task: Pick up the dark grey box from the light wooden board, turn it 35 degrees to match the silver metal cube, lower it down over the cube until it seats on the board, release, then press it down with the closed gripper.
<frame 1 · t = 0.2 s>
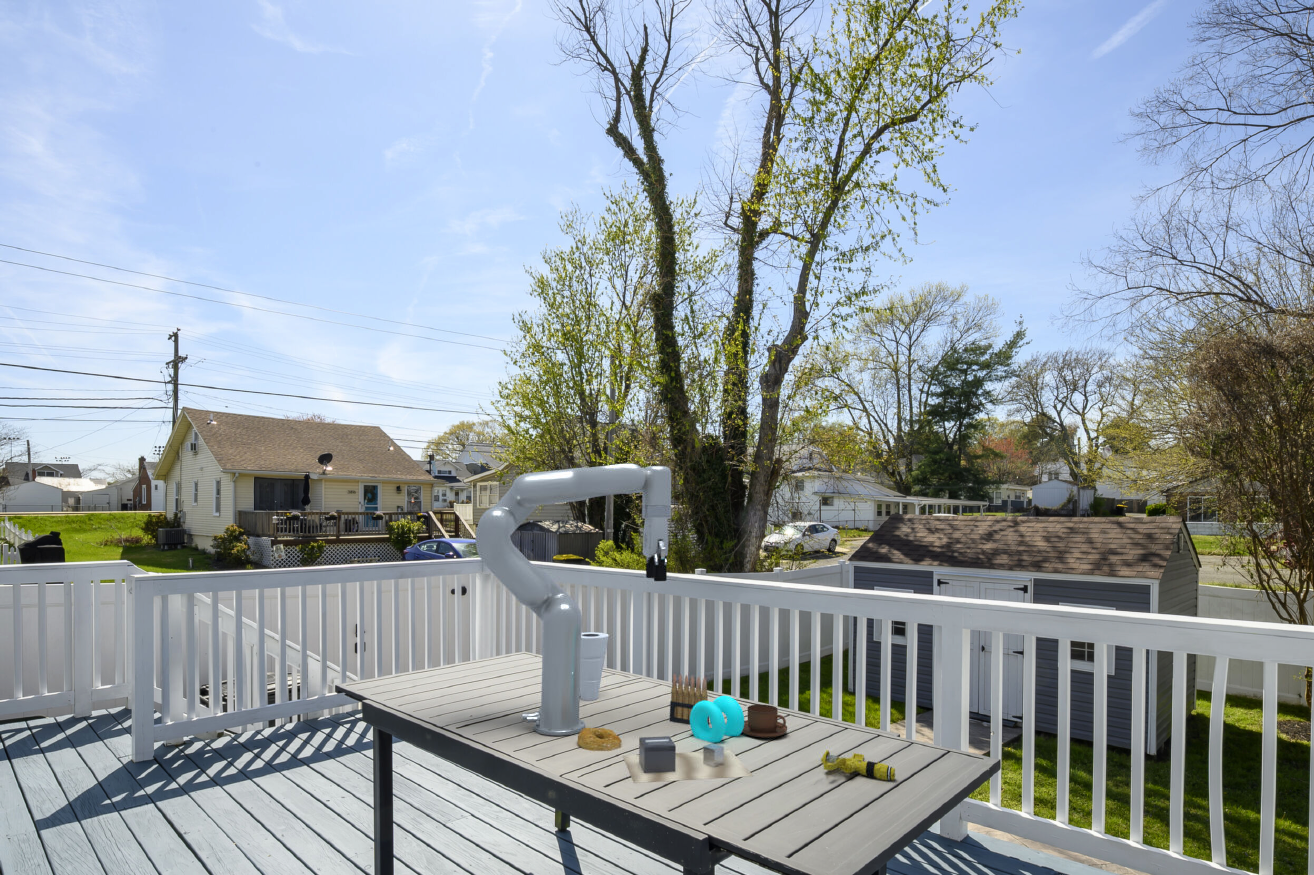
hand: (656, 579, 184), 36 cm above the table, tool pointing down, fingers open, 9 cm apart
board: (685, 773, 146), on the table
cup: (589, 699, 206), on the table
bagel: (599, 752, 160), on the table
dark grey box: (656, 766, 146), point 1 cm above the table, touching board
silver metal cube: (713, 763, 148), resting on board
sprinkler: (858, 774, 148), on the table
donuts: (717, 743, 167), on the table
cup and saucer: (762, 735, 174), on the table
ammunition clip: (689, 724, 182), on the table
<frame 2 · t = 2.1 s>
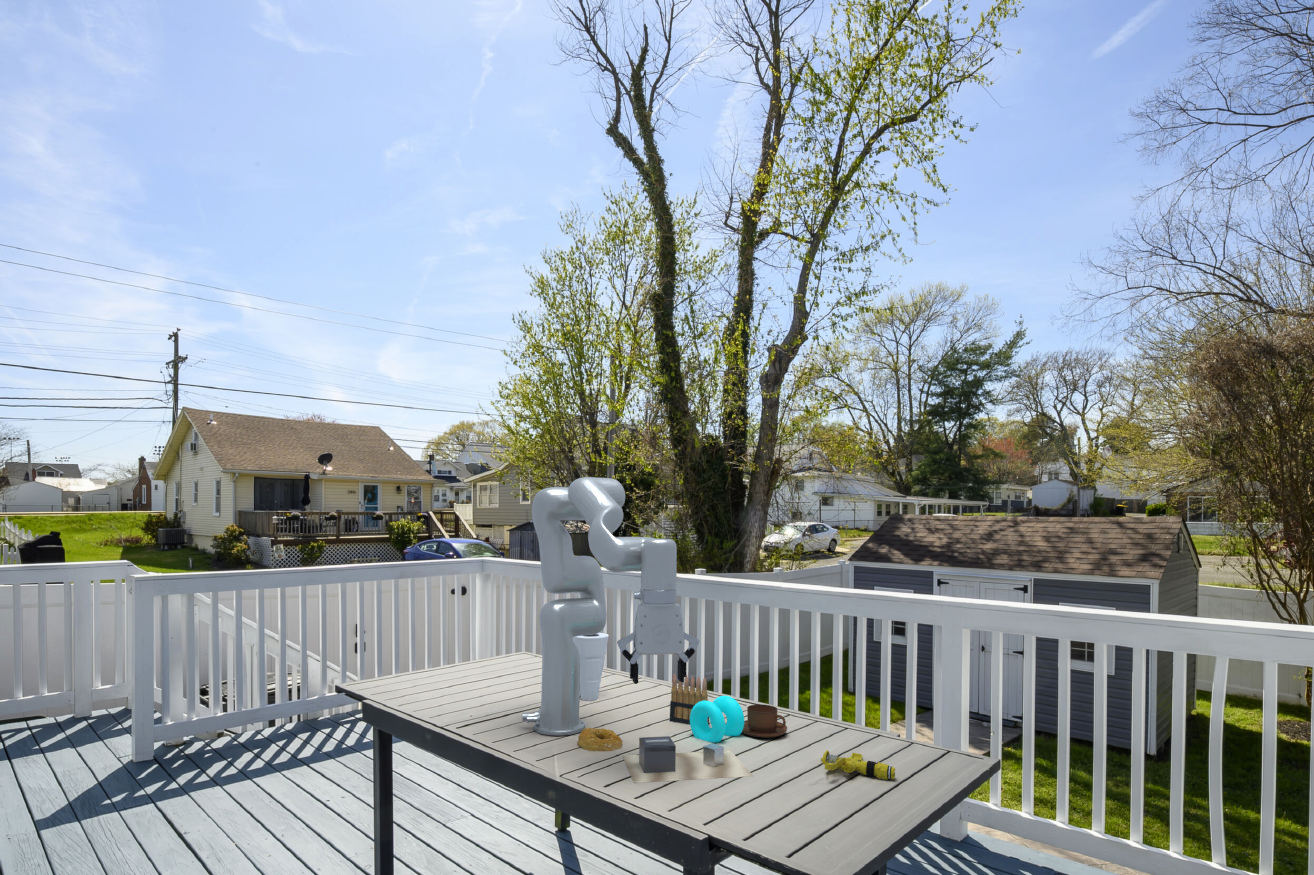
hand: (658, 681, 148), 18 cm above the table, tool pointing down, fingers open, 9 cm apart
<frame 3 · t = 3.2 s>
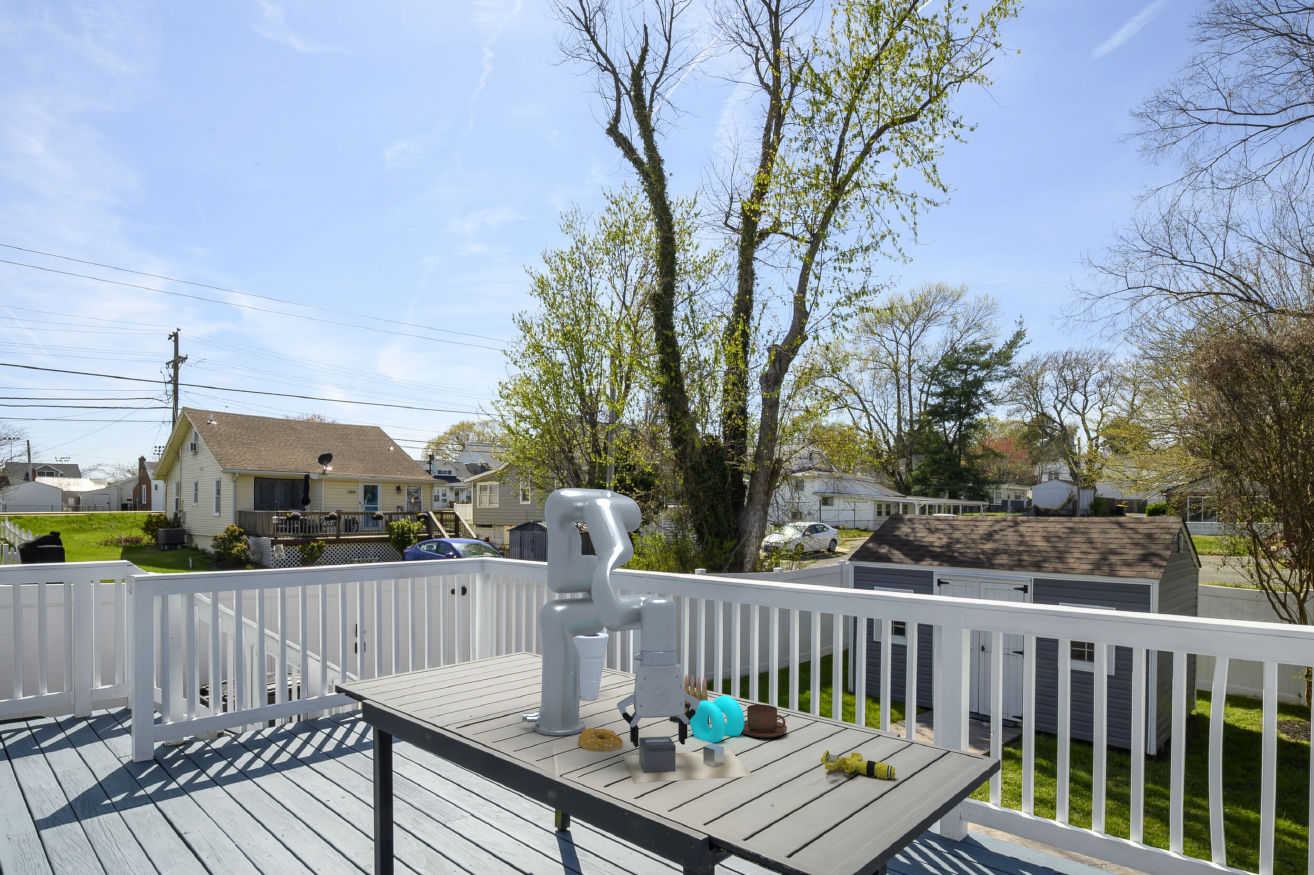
hand: (658, 744, 146), 6 cm above the table, tool pointing down, fingers open, 9 cm apart
nothing on the table moved.
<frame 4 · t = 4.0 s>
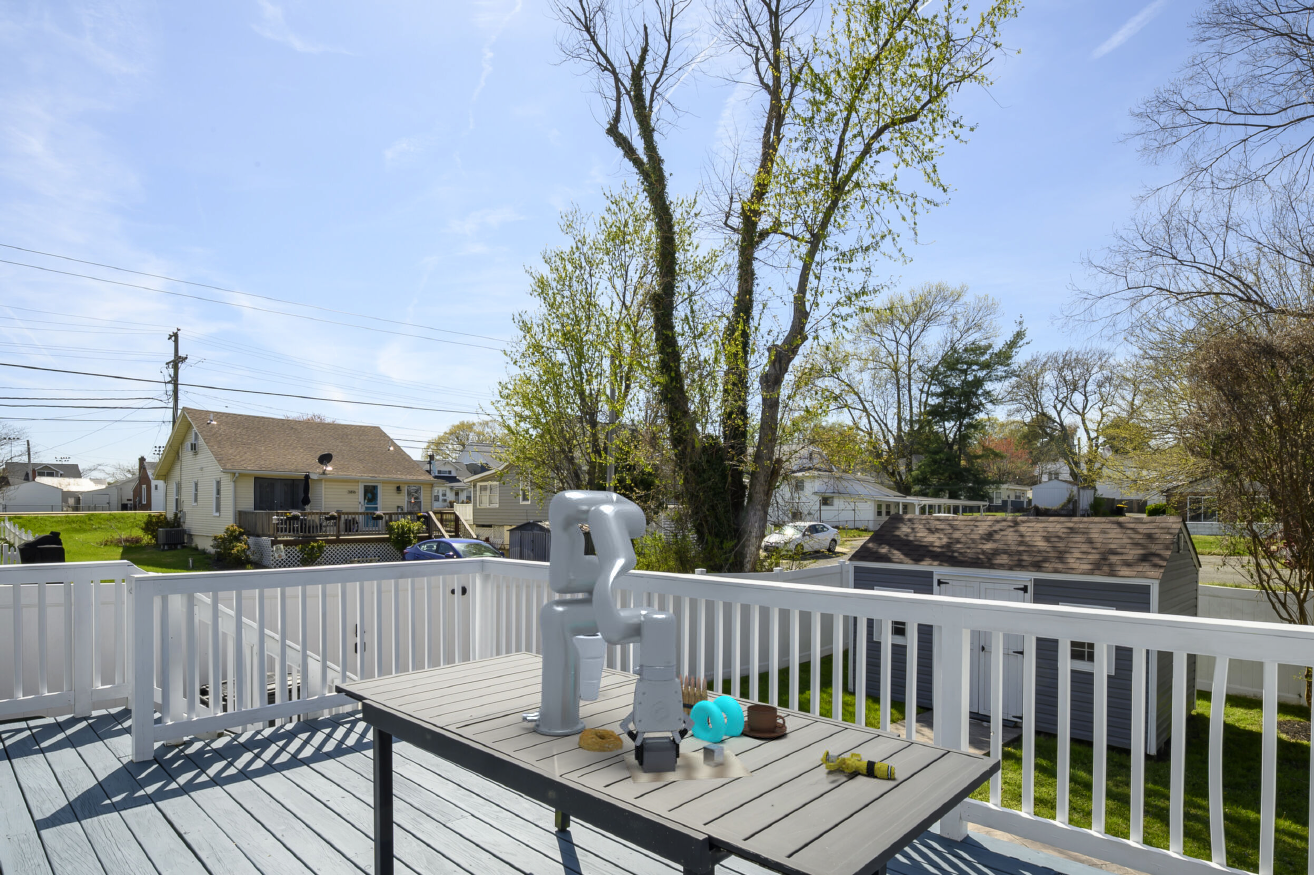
hand: (657, 761, 146), 2 cm above the table, tool pointing down, fingers closed on dark grey box, 6 cm apart
dark grey box: (656, 766, 146), point 2 cm above the table, touching board, gripper
everything else where it was.
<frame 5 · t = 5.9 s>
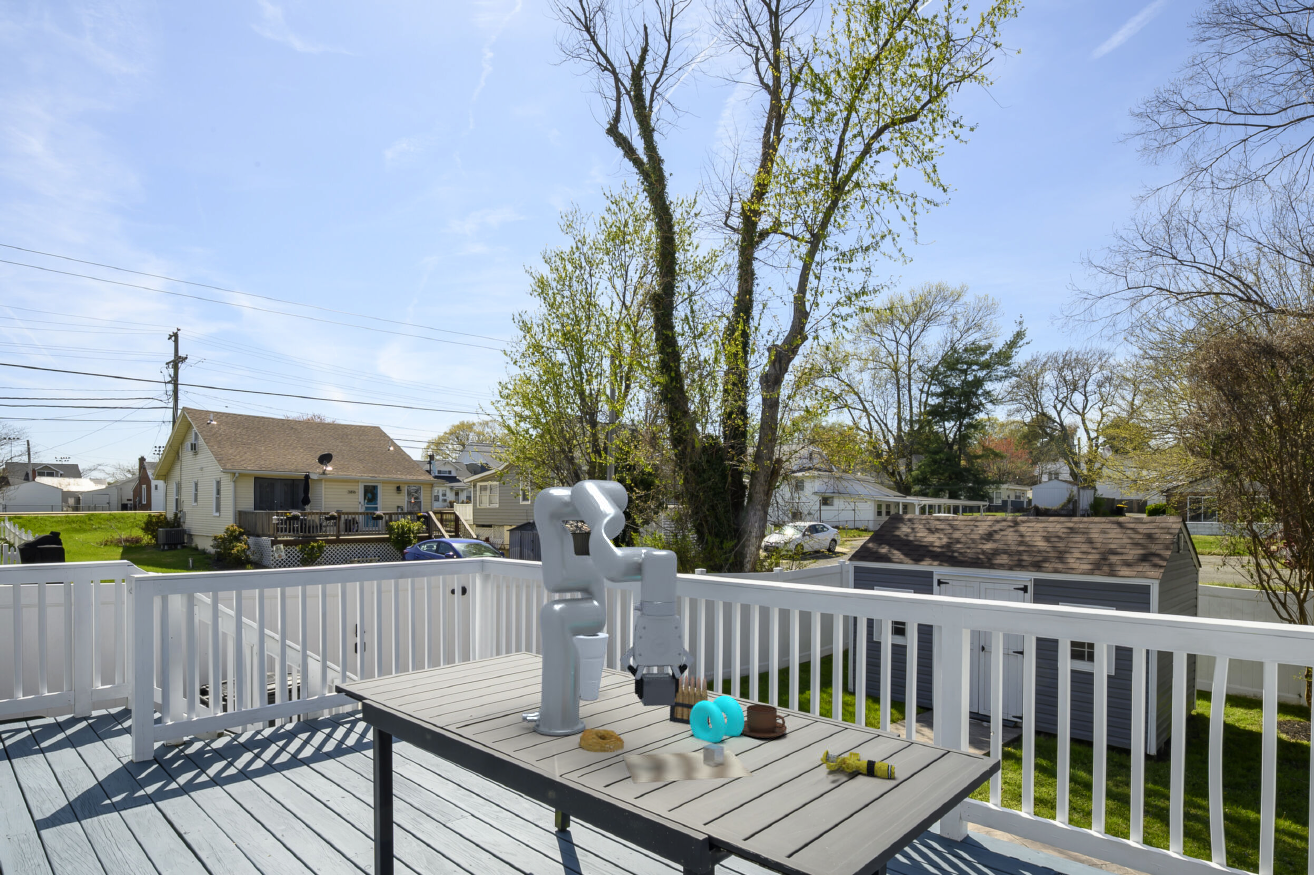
hand: (656, 696, 147), 15 cm above the table, tool pointing down, fingers closed on dark grey box, 6 cm apart
dark grey box: (656, 701, 147), point 14 cm above the table, touching gripper
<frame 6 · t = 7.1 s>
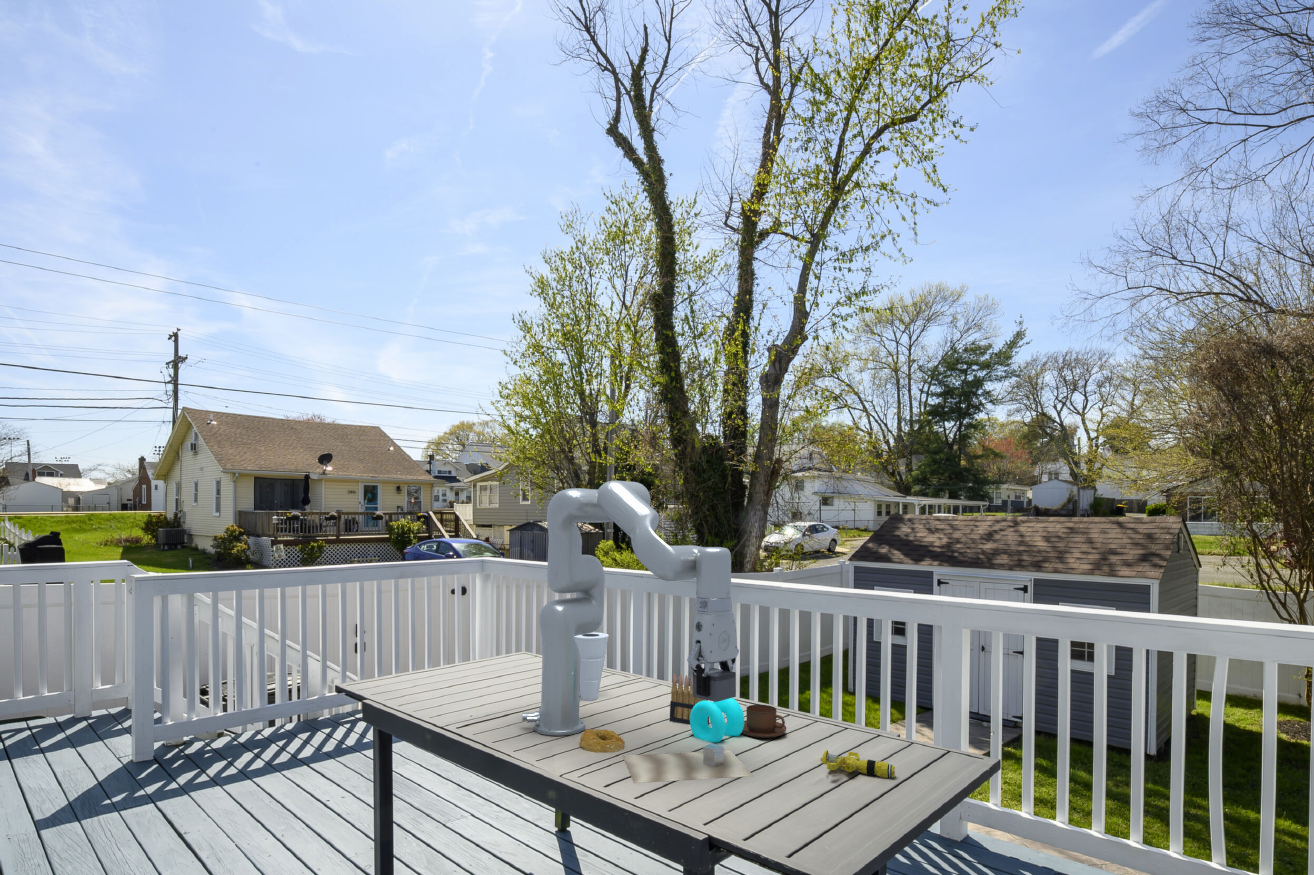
hand: (714, 691, 149), 16 cm above the table, tool pointing down, fingers closed on dark grey box, 6 cm apart
dark grey box: (714, 696, 149), point 15 cm above the table, touching gripper
when the fingers open (4 cm above the table, at t = 9.5 s): dark grey box drops 2 cm, resting on board.
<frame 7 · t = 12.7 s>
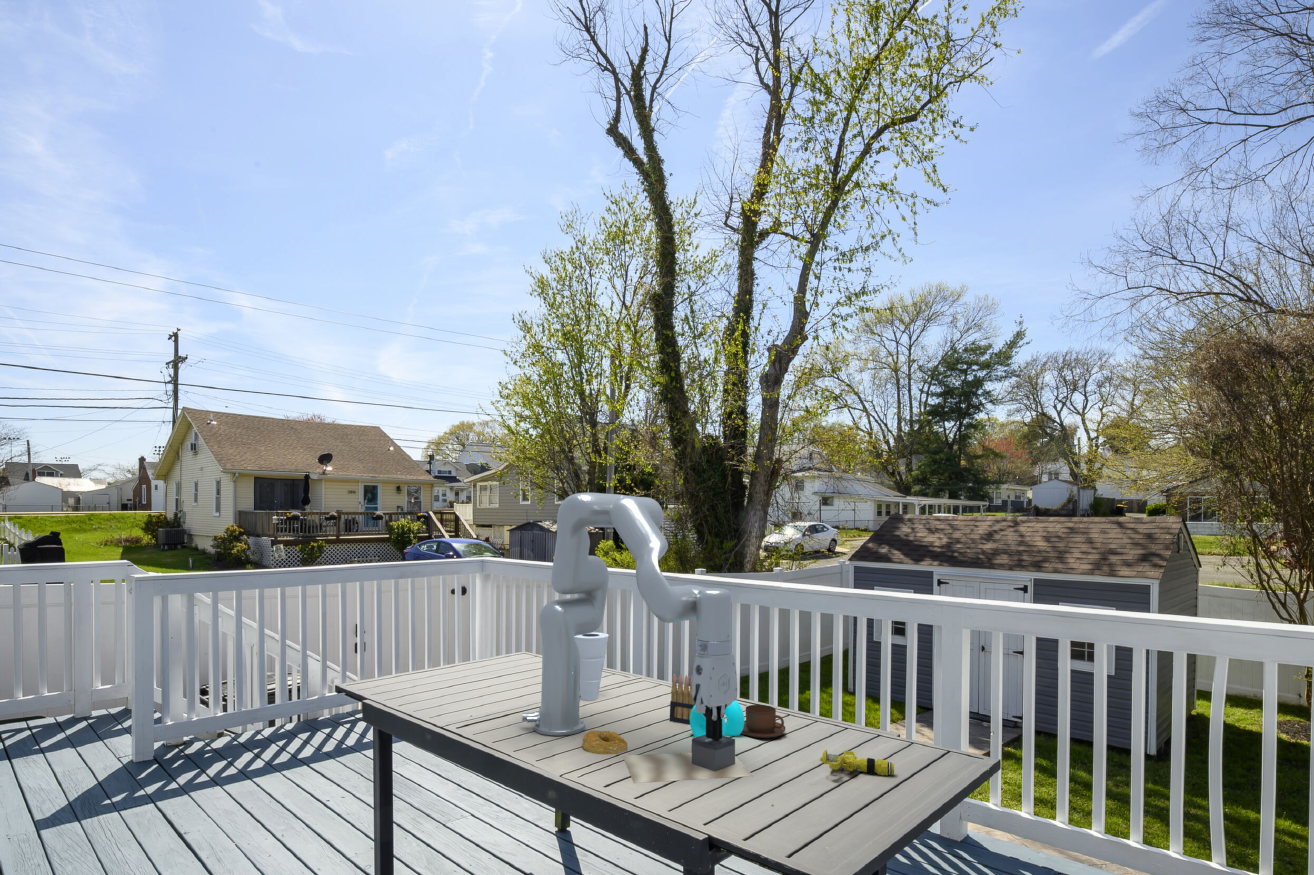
hand: (714, 737, 148), 7 cm above the table, tool pointing down, fingers closed
bagel: (605, 755, 158), on the table
dark grey box: (713, 763, 148), point 1 cm above the table, touching board, gripper
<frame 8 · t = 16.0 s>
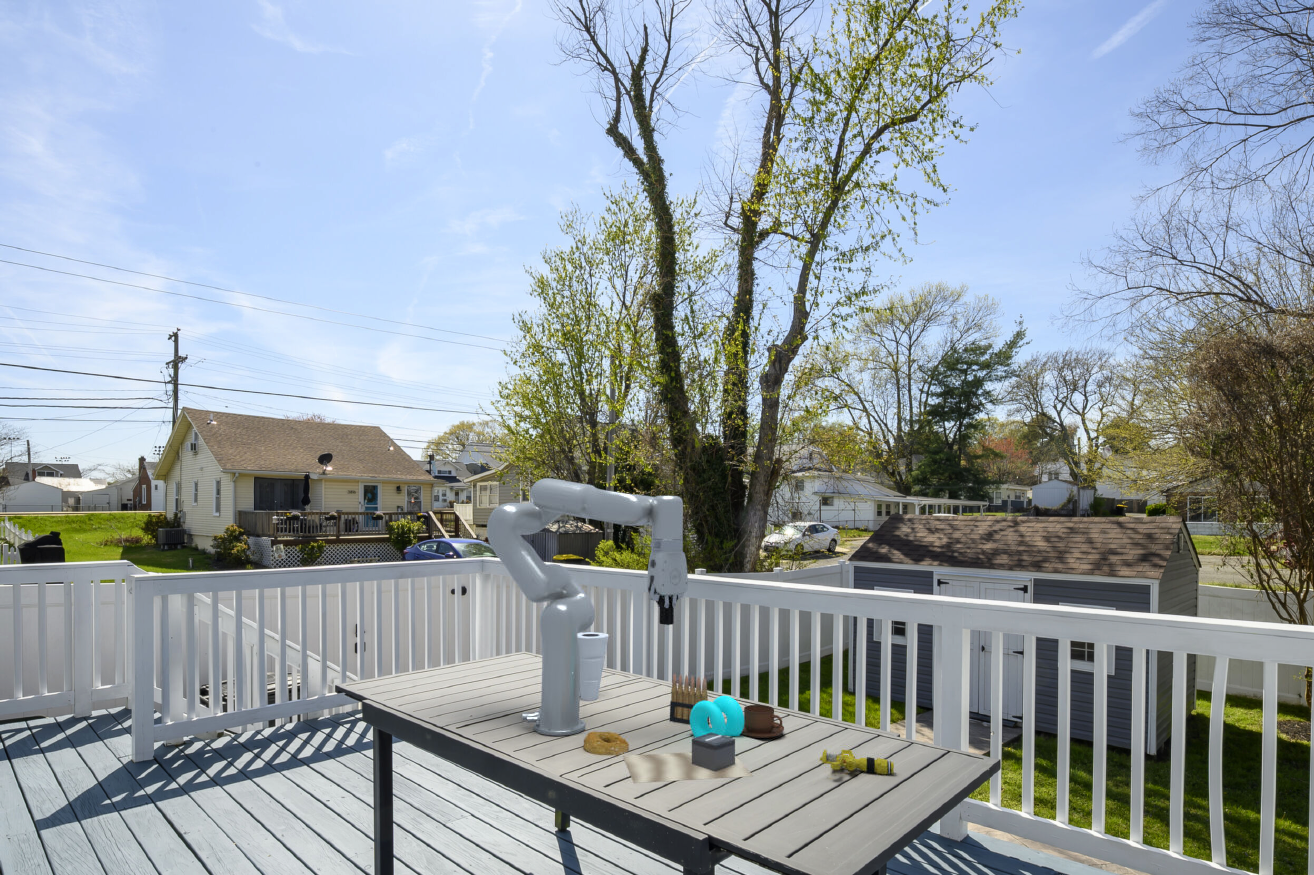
hand: (666, 623, 170), 27 cm above the table, tool pointing down, fingers closed
dark grey box: (713, 763, 148), point 1 cm above the table, touching board
at the end: dark grey box 0.0 cm from the silver metal cube (horizontally); dark grey box point 1.5 cm above the table; dark grey box tilted 0° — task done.
